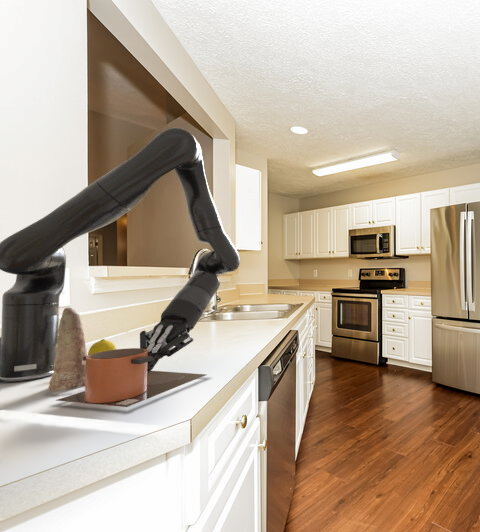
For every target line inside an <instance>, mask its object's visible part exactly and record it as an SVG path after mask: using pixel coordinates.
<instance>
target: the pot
mask: <svg viewBox="0 0 480 532" xmlns="http://www.w3.org/2000/svg"><path fill="white" fill-rule="evenodd" d="M152 360H153V357H151V356H148V350H147V349H141V348H140V347H130V348H129V347H128V348H118V349H117V348H116V350H109V351H103V352H98V353H94V354H91V355H88V354H87V356H84V357H83V361H86V369H85V386H84V391H85V401H86V402H88V403H109V402H116V401H121V400H125V399H129V398H133V397H136V396H138V395H141V394H143V393H144V392H146V390H147V367H148V362H149V361H152ZM88 403H87V404H88Z"/></svg>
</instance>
